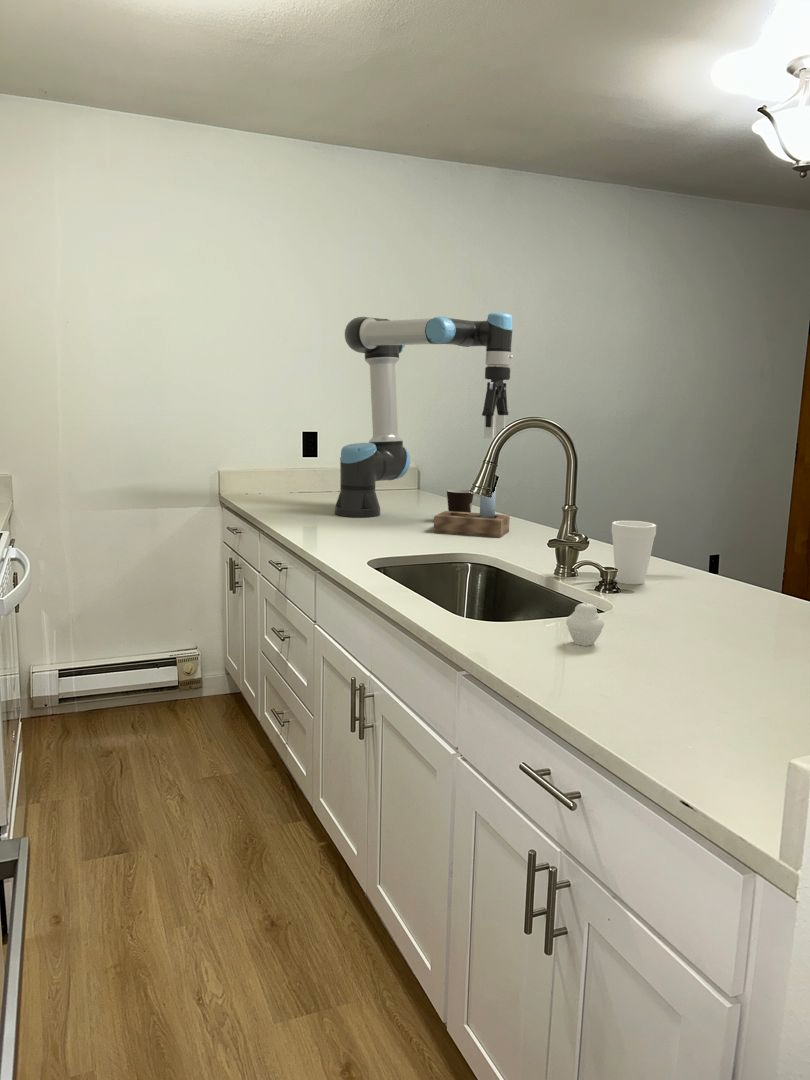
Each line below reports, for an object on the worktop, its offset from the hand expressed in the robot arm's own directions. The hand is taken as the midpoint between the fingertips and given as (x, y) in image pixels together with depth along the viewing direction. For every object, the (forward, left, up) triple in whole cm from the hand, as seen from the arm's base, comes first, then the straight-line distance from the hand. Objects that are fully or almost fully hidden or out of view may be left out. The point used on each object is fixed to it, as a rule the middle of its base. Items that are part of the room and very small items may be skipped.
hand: (494, 437), depth 258 cm
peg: (+2, -13, -27) cm, 30 cm away
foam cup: (+46, -63, -28) cm, 83 cm away
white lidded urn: (+42, -116, -28) cm, 127 cm away
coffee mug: (-11, +6, -28) cm, 30 cm away
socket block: (-3, -13, -28) cm, 31 cm away
